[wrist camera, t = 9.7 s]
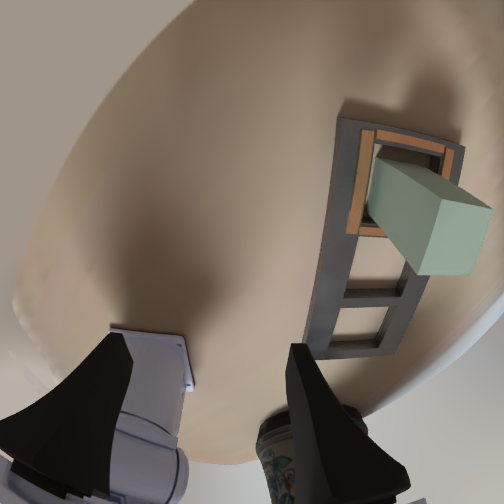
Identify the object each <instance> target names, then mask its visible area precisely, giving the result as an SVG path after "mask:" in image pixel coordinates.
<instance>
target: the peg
mask: <svg viewBox="0 0 504 504" xmlns="http://www.w3.org/2000/svg"><path fill="white" fill-rule="evenodd" d="M366 212H367V213H368V214H369V215H370V216H371V218H372V219H373V220H374V221H375V222H376V223H377V225H378V226H379V227H380V228H381V229H382V231H383V232H384V233H385V234H386V235H387V237H388V238H389V239H390V240H391V242H392V243H393V244H394V245H395V247H396V248H397V249H398V250H399V252H400V253H401V254H402V255H403V257H404V258H405V259H406V261H407V262H408V263H409V265H410V266H411V267H412V269H413V270H414V271H415V273H416V274H417V275H470V273H471V270H472V268H473V266H474V263H475V261H476V258H477V256H478V253H479V251H480V248H481V245H482V243H483V240H484V237H485V234H486V232H487V229H488V226H489V223H490V219H491V216H492V213H493V209H492V208H491V207H489V206H488V205H486V204H485V203H483V202H482V201H480V200H479V199H477V198H476V197H474V196H473V195H471V194H470V193H468V192H466V191H465V190H463V189H462V188H460V187H458V186H457V185H455V184H453V183H452V182H450V181H448V180H447V179H445V178H443V177H441V176H440V175H438V174H436V173H434V172H433V171H431V170H429V169H427V168H425V167H423V166H420V165H416V164H411V163H406V162H401V161H396V160H390V159H384V158H379V157H376V158H375V164H374V170H373V176H372V182H371V187H370V193H369V198H368V203H367V208H366Z"/></svg>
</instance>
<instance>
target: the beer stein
mask: <svg viewBox="0 0 504 504" xmlns="http://www.w3.org/2000/svg"><path fill="white" fill-rule="evenodd" d="M342 406H343V407H344V409H345V410H346V411H347V413H348V414H349V415H350V416H351V418H352V419H353V420H354V421H355V422H356V424H357V425H358V426H359V427H360V428H361V429H362V430H363V431H364V432H365V433H366V434H367V435H368V428H367V426H366V424H365V423H364V421H363V419H362V417H361V414H360V413H359V412H358V410H357V409H356V408H353V407H350V406H346V405H343V404H342ZM256 453H257V455H258V457H259V459H260V461H261V463H262V466H263V470H264V473H265V476H266V479H267V484H268V488H269V492H270V497H271V502H272V504H294V501H295V464H294V442H293V434H292V427H291V421H290V415H289V411H286V412H283V413H280V414H278V415H276V416H274V417H272V418H270V419H268V420H266V421H265V422H264V423H263V424H262V425H261V426H260V429H259V434H258V438H257V442H256Z"/></svg>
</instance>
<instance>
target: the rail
mask: <svg viewBox="0 0 504 504" xmlns="http://www.w3.org/2000/svg"><path fill="white" fill-rule="evenodd" d="M374 143H376V144H382V145H388V146H393V147H398V148H403V149H408V150H413V151H418V152H422V153H426V154H431V155H432V159H431V164H430V170H431V171H433V172H434V173H436V174H438V175H440V176H441V177H443V178H445V179H447V180H448V181H450V182H452V183H453V184H455V185H457V186H458V183H459V178H460V174H461V169H462V164H463V158H464V153H465V147H464V146H462V145H459V144H457V143H453V142H450V141H447V140H444V139H440V138H437V137H433V136H429V135H426V134H422V133H418V132H414V131H410V130H405V129H401V128H397V127H392V126H387V125H382V124H377V123H372V122H366V121H361V120H354V119H348V118H341V117H337V125H336V136H335V146H334V156H333V164H332V173H331V181H330V189H329V196H328V203H327V210H326V217H325V224H324V230H323V236H322V242H321V248H320V254H319V260H318V266H317V271H316V277H315V282H314V287H313V292H312V297H311V302H310V307H309V312H308V317H307V321H306V326H305V331H304V335H303V339H302V343H306V344H307V345H308V347H309V349H310V351H311V354H312V356H313V358H314V360H330V359H346V358H359V357H370V356H380V355H389V354H394V352H395V350H396V348H397V346H398V344H399V343H400V341H401V339H402V337H403V335H404V333H405V331H406V329H407V327H408V325H409V323H410V320H411V318H412V316H413V314H414V312H415V310H416V307H417V305H418V303H419V301H420V298H421V296H422V294H423V291H424V289H425V287H426V284H427V282H428V279H429V277H430V275H417V274H416V273H415V271H414V270H413V269H412V267H411V266H410V265H409V263H408V262H407V261H406V262H405V265H404V268H403V271H402V274H401V277H400V279H399V282H398V285H397V288H396V289H346V285H347V282H348V278H349V274H350V270H351V266H352V262H353V258H354V253H355V249H356V245H357V240H358V236H365V237H384V238H388V237H387V235H386V234H385V233H384V232H383V231H382V229H381V228H380V227H379V226H378V225H377V223H376V222H375V221H374V220H373V219H372V218H371V217H364V216H363V211H364V206H365V201H366V195H367V190H368V184H369V178H370V171H371V165H372V158H373V151H374ZM387 306H389V309H388V311H387V314H386V316H385V318H384V321H383V323H382V325H381V328H380V330H379V332H378V335H377V337H376V339H374V340H361V341H344V342H330V340H331V337H332V334H333V330H334V327H335V324H336V321H337V317H338V314H339V310H340V308H360V307H387Z"/></svg>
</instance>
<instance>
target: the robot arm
mask: <svg viewBox="0 0 504 504" xmlns="http://www.w3.org/2000/svg"><path fill="white" fill-rule="evenodd" d="M285 376H286V395H287V402H288V408H289V415H290V421H291V427H292V434H293V442H294V464H295V501H294V504H394V503H396V495H398V494H400V493H402V492H404V491H406V490H408V489H409V488H410V487H411V484H410V479H409V476H408V474H407V471H406V469H405V467H404V466H403V465H401V464H400V463H399V462H397V461H396V460H394V459H393V458H392V457H391V456H389V455H388V454H387V453H386V452H385V451H383V450H382V449H381V448H380V447H379V446H378V445H377V444H376V443H374V441H373V440H372V439H371V438H370V437H369V436H368V435H367V434H366V433H365V432H364V431H363V430H362V429H361V428H360V427H359V426H358V425H357V424H356V422H355V421H354V420H353V419H352V418H351V416H350V415H349V414H348V413H347V411H346V410H345V409H344V407H343V406H342V405H341V403H340V402H339V400H338V399H337V398H336V396H335V395H334V393H333V391H332V390H331V388H330V387H329V385H328V383H327V382H326V380H325V378H324V377H323V375H322V373H321V371H320V369H319V368H318V366H317V364H316V362H315V360H314V358H313V356H312V354H311V351H310V349H309V347H308V345H307V344H306V343H291V347H290V352H289V357H288V362H287V367H286V371H285ZM185 391H190V392H192V391H194V383H193V379H192V374H191V370H190V365H189V360H188V355H187V350H186V345H185V340H184V338H183V337H181V336H177V335H166V334H155V333H146V332H137V331H128V330H120V329H113V328H110V329H109V331H108V335H107V336H106V337H105V338H104V339H103V340H102V341H101V342H100V343H99V344H98V345H97V346H96V348H95V349H94V350H93V351H92V352H91V353H90V354H89V355H88V356H87V357H86V358H85V359H84V360H83V361H82V363H81V364H80V365H79V366H78V367H77V368H76V369H75V370H74V371H73V372H72V373H71V374H70V375H69V376H67V377H66V378H65V379H64V380H63V381H62V382H61V383H60V384H59V385H58V386H56V387H55V388H54V389H53V390H51V391H50V392H49V393H48V394H46V395H45V396H43V397H42V398H41V399H39V400H38V401H36V402H35V403H33V404H32V405H30V406H28V407H27V408H25V409H23V410H21V411H20V412H18V413H16V414H14V415H11V416H9V417H7V418H5V419H2V420H0V449H1V450H2V451H4V452H5V453H6V454H8V455H9V456H11V457H12V458H13V459H14V460H13V463H12V462H11V461H9V460H8V459H6V458H4V457H3V456H1V455H0V502H1V503H2V504H177V503H178V502H179V501H180V500H181V499H182V497H183V495H184V493H185V490H186V487H187V482H188V476H189V464H188V459H187V457H186V455H185V453H184V451H183V450H182V449H181V448H179V447H177V442H178V438H177V437H176V436H177V434H178V431H179V427H180V420H181V414H182V408H183V403H184V397H185ZM409 504H426V499H425V498H422V499H420V500H417V501H414V502H411V503H409Z"/></svg>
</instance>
